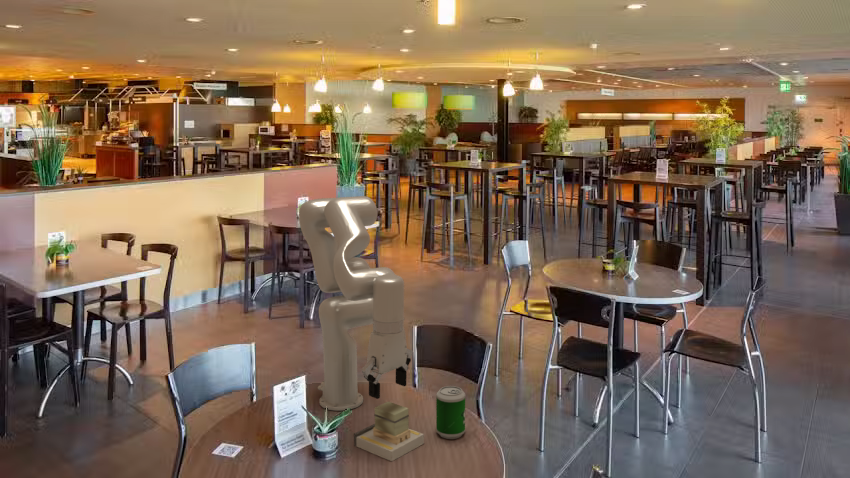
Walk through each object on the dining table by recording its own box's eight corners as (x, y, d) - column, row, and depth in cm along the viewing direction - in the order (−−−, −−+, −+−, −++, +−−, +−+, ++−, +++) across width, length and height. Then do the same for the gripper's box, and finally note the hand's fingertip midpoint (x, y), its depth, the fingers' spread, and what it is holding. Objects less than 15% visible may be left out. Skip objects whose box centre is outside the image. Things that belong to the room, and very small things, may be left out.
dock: (354, 445, 168) (353, 433, 168) (386, 429, 178) (386, 417, 177) (391, 461, 160) (391, 448, 160) (423, 443, 170) (423, 431, 169)
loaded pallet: (373, 435, 169) (372, 407, 167) (387, 428, 172) (386, 400, 171) (396, 444, 164) (396, 415, 162) (410, 437, 167) (410, 409, 166)
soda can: (462, 441, 170) (463, 397, 168) (433, 439, 172) (433, 394, 170) (467, 428, 178) (467, 385, 176) (439, 426, 179) (439, 383, 177)
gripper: (400, 314, 173) (399, 376, 176) (352, 330, 160) (352, 397, 163) (422, 320, 168) (421, 384, 171) (374, 337, 155) (374, 406, 158)
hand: (387, 390), depth 167 cm, fingers open, 9 cm apart
